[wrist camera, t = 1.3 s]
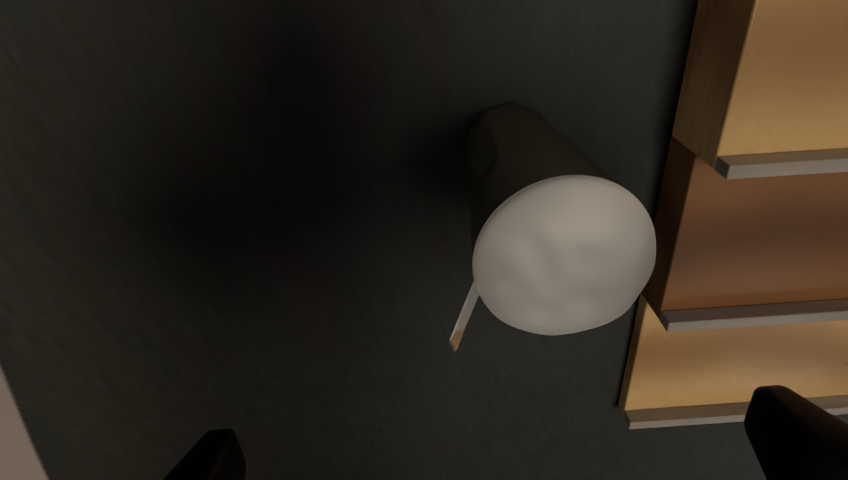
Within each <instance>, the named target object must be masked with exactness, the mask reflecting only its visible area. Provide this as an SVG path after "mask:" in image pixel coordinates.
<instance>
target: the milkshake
mask: <svg viewBox="0 0 848 480" xmlns="http://www.w3.org/2000/svg"><path fill="white" fill-rule="evenodd" d="M465 167H466V177H467V186H468V196H469V206H470V215H471V245H472V269H473V277H474V281H473V283H472V286H471V288H470V290H469V293H468V295H467V297H466V300H465V302H464V304H463V307H462V309H461V312H460V314H459V316H458V319H457V321H456V323H455V326H454V328H453V330H452V333H451V335H450V338H449V340H450V343H451V346H452V349H453V351H454V352H456V350H457V348H458V346H459V343H460V341H461V338H462V336H463V333H464V331H465V328H466V326H467V323H468V321H469V318H470V316H471V313H472V311H473V308H474V306H475V303H476V301H477V298H478V296H479V295H480V297H481V298H482V300H483V302H484V303H485V305H486V306H487V307H488V309H489V310H490V311H491V312H492V313H493V314H494V315H495V316H496V317H497V318H499V319H500V320H501V321H503V322H504V323H506V324H508V325H510V326H513V327H515V328H518V329H521V330H524V331H527V332H531V333H535V334H541V335H562V334H570V333H576V332H580V331H584V330H588V329H592V328H596V327H599V326H602V325H604V324H607V323H609V322H611V321H613V320H615V319H617V318H618V317H620V316H621V315H622V314H624V313H625V312H626V311H627V310H628V309H629V308H630V307H631V306H632V304H633V303H634V302H635V300H636V299H637V297H638V296H639V294H640V293H641V291H642V290H643V288H644V287H645V285H646V284H647V282H648V280H649V278H650V276H651V274H652V272H653V269H654V265H655V260H656V236H655V230H654V226H653V223H652V220H651V218H650V216H649V214H648V212H647V210H646V209H645V207H644V206H643V205H642V203H641V202H640V201H639V200H638V199H637V198H636V197H635V196H634V195H633V194H632V193H630V192H629V191H628V190H627V189H626V188H624V187H623V186H622V185H621V184H619V183H618V182H617V181H616V180H614V179H613V178H612V177H611V176H610V175H608V174H607V173H606V172H605V171H603V170H602V169H601V168H600V167H599V166H597V165H596V164H595V163H594V162H592V161H591V160H590V159H589V158H588V157H587V156H586V155H584V154H583V153H582V152H581V151H580V150H579V149H578V148H577V147H576V146H575V145H574V144H573V143H572V142H570V141H569V140H568V139H567V138H566V137H565V136H564V135H563V134H562V133H561V132H560V131H558V130H557V129H556V128H555V127H554V126H553V125H552V124H551V123H550V122H549V121H548V120H546V119H545V118H544V117H543V116H542V115H541V114H540V113H539V112H537V111H535V110H532V109H529V108H526V107H523V106H520V105H517V104H515V103H508V104H505V105H502V106H499V107H495V108H492V109H488V110H485V111H484V112H483V113H482V114H481V116H480V117H479V118H478V119H477V120H476V122H475V123H474V124H473V125H472V126H471V128H470V129H469V130H468V131H467V135H466V149H465Z"/></svg>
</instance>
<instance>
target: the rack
mask: <svg viewBox="0 0 848 480" xmlns="http://www.w3.org/2000/svg"><path fill="white" fill-rule="evenodd" d="M654 230H655V236H656V260H655V265H654V269H653V272H652V274H651V276H650V278H649V280H648V282H647V284H646V285H645V287H644V288H643V290H642V291H641V293H640V298H639V303H638V308H637V313H636V318H635V323H634V328H633V333H632V338H631V343H630V348H629V353H628V358H627V363H626V368H625V373H624V378H623V383H622V388H621V393H620V399H619V404H618V405H619V407H620V410H621V412H622V414H623V416H624V419H625V421H626V423H627V426H628V428H629V429H640V428H654V427H669V426H683V425H697V424H711V423H726V422H740V421H744V418H745V415H746V412H747V409H748V406H749V403H750V401H751V398H752V395H753V392H754V390H755V389H756V388H758V387H760V386H770V385H782V386H785V387H787V388H789V389H791V390H792V391H794V392H796V393H797V394H799V395H801V396H802V397H804V398H806V399H807V400H809V401H810V402H812V403H814V404H815V405H817V406H819V407H820V408H822V409H824V410H825V411H827V412H828V413H830V414H832V415H840V414H848V0H698V5H697V10H696V15H695V20H694V25H693V30H692V35H691V40H690V45H689V51H688V56H687V61H686V66H685V71H684V76H683V81H682V86H681V91H680V96H679V101H678V106H677V111H676V116H675V121H674V126H673V131H672V137H671V140H670V145H669V151H668V156H667V161H666V166H665V171H664V176H663V181H662V186H661V191H660V196H659V201H658V206H657V211H656V216H655V221H654Z"/></svg>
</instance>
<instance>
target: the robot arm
mask: <svg viewBox="0 0 848 480" xmlns="http://www.w3.org/2000/svg"><path fill="white" fill-rule="evenodd" d="M744 426H745V430H746V433H747V436H748V438H749V440H750V443H751V445H752V447H753V449H754V452H755V454H756V456H757V458H758V461H759V463H760V465H761V467H762V470H763V472H764V474H765V476H766V479H767V480H848V424H846V423H845V422H843V421H842V420H840V419H838V418H837V417H835V416H833V415H832V414H830V413H828V412H827V411H825V410H824V409H822V408H820V407H819V406H817V405H815V404H814V403H812V402H810V401H809V400H807V399H806V398H804V397H802V396H801V395H799V394H797V393H796V392H794V391H792V390H791V389H789V388H787V387H785V386H782V385H770V386H760V387H758V388H756V389H755V390H754V392H753V395H752V398H751V401H750V403H749V406H748V409H747V412H746V415H745V418H744ZM245 470H246V465H245V459H244V456H243V453H242V450H241V447H240V445H239V442H238V439H237V437H236V434H235V432H234V431H233V430H231V429H220V430H211V431H208V432H207V433H205V434H204V435H203V436H202V437H201V439H200V440H199V441H198V442H197V443H196V444H195V445H194V446H193V447H192V449H191V450H190V451H189V452H188V453H187V454H186V455H185V456H184V457H183V458H182V460H181V461H180V462H179V463H178V464H177V465H176V466H175V467H174V468H173V470H172V471H171V472H170V473H169V474H168V475H167V476H166V477H165V478H164V480H244V479H245Z"/></svg>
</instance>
